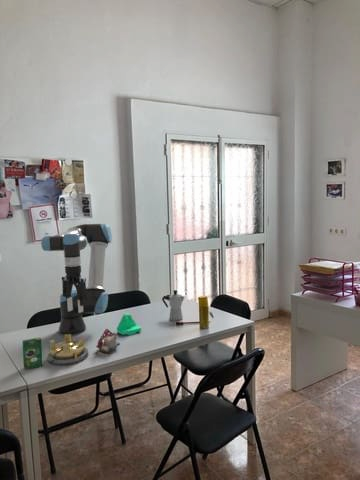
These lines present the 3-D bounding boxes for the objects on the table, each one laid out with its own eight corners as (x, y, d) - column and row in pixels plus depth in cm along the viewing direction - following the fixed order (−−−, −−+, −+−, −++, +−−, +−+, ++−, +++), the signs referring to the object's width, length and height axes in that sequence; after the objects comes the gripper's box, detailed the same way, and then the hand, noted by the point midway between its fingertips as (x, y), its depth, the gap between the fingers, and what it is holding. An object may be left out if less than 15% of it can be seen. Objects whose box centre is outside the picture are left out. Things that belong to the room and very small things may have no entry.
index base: (38, 360, 185) (38, 350, 185) (69, 346, 201) (68, 337, 201) (66, 368, 175) (66, 358, 175) (96, 353, 191) (95, 344, 191)
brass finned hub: (49, 361, 179) (48, 347, 178) (52, 348, 194) (51, 335, 193) (84, 357, 182) (84, 343, 182) (84, 344, 198) (84, 332, 197)
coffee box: (42, 363, 182) (40, 336, 180) (43, 365, 179) (41, 338, 178) (23, 367, 178) (21, 340, 176) (24, 370, 175) (22, 342, 174)
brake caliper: (107, 339, 204) (115, 324, 198) (119, 355, 199) (127, 340, 193) (89, 345, 196) (97, 330, 190) (101, 363, 191) (109, 347, 185)
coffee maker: (186, 316, 247) (186, 288, 245) (185, 320, 238) (184, 292, 236) (163, 316, 249) (162, 288, 247) (161, 320, 240) (160, 292, 238)
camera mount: (122, 336, 214) (121, 318, 213) (116, 333, 221) (116, 315, 220) (141, 332, 221) (141, 314, 220) (136, 328, 227) (135, 311, 226)
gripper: (52, 265, 191) (55, 311, 193) (83, 267, 182) (85, 315, 185) (63, 262, 197) (66, 307, 200) (93, 264, 189) (95, 311, 191)
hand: (75, 311), depth 192 cm, fingers open, 6 cm apart
